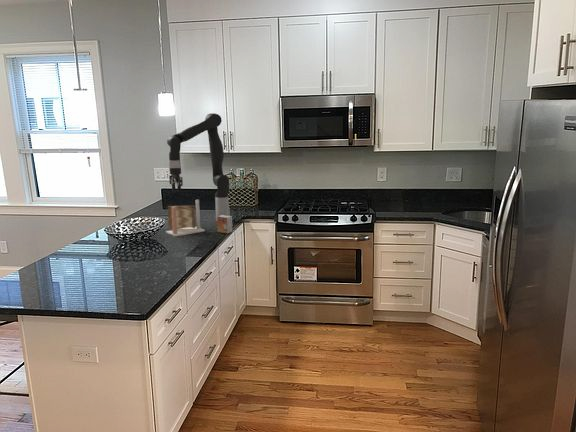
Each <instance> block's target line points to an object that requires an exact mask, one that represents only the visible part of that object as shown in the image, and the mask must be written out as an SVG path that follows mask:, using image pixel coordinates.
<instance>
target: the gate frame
mask: <svg viewBox="0 0 576 432" xmlns="http://www.w3.org/2000/svg"><path fill="white" fill-rule="evenodd" d="M194 201H195V228H192V227H188V228H177V219H176V207H171V209H172V228H171V229H172V230H171V229H170V230H165V233H166V234H169V235H171V236H174V237H181V236H185V235H191V234H197V233H202V232H206V230H205V229H204V228H201V213H200V199H195V200H194Z"/></svg>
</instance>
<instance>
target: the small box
mask: <svg viewBox="0 0 576 432" xmlns="http://www.w3.org/2000/svg"><path fill="white" fill-rule="evenodd" d="M216 224H217V225H216V227H217V233H222V234H229V233H232V232H233V216H232V215H230V216H225V215H220V216H217V221H216Z"/></svg>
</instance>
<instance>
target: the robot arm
mask: <svg viewBox="0 0 576 432" xmlns="http://www.w3.org/2000/svg"><path fill="white" fill-rule="evenodd" d="M222 121H223V120H222V116H221V115H220V114H218V113H215V112H213V113H208V114H207V115H206V116H205V119H204V120H203V121H201V122H199V123H197V124H193V125H192V126H189V127H187V128H185V129H184V130H182V131H180V132H177V133H175V134H173V135H171V136H169V137H168V138H167V140H166V142H167V143H166V144H167V145H168V146H169V148H170V149H169V153H168V159H169V160H168V162H169V163H168V165H169V167H168V169H169V174H170V175H169V176H168V177H169V185H171V191H172V192H176V189H177V193H181V192H182V187H183V185H184V184H183V176H180V175H181V174H182V162H181V145H182V144H181V143H184V142H187V141H189V140H192V139H193V138H195V137H197V136H198V135H200V134H202V133H204V132H206V131H207V135H208V146H209V154H210V160H211V168H212V182H213V185H215V186H216V189H217V191H216V192H215V194H214V200H215V221H216V222H217V216H220V215H225V216H231V208H230V205H229V194H230V179H229V176H227V175H226V174H224V171H223V161H224V157H225V155H224V154H225V153H224V152H225V151H224V147H223V142H222V140H221V138H220V134H219V131H218V130H219V129H218V127H219V126H220V125H221V123H222ZM176 186H177V188H176Z"/></svg>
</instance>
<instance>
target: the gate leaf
mask: <svg viewBox="0 0 576 432" xmlns="http://www.w3.org/2000/svg"><path fill="white" fill-rule="evenodd" d="M171 207H176V219H177V229H181V228H188V227H192V228H195V227H196V205H173V206H172V205H168V206H167V219H168V220H167V223H168V229H173V228H172V209H171Z"/></svg>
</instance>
